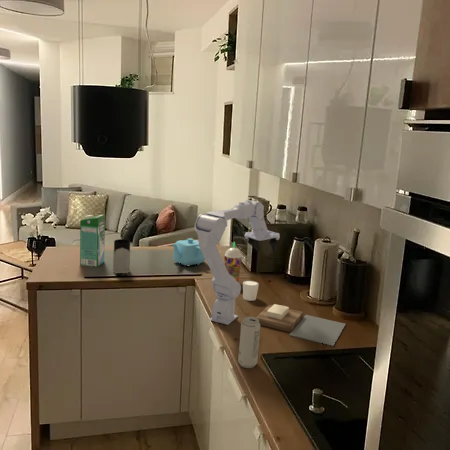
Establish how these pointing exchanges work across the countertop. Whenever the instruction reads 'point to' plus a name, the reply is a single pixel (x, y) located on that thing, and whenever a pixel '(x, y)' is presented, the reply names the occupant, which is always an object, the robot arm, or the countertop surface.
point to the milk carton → (92, 240)
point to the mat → (318, 330)
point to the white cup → (250, 290)
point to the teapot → (188, 252)
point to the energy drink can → (249, 342)
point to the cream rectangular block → (277, 311)
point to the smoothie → (233, 261)
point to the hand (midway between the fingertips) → (266, 250)
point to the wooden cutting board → (283, 324)
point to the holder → (121, 256)
